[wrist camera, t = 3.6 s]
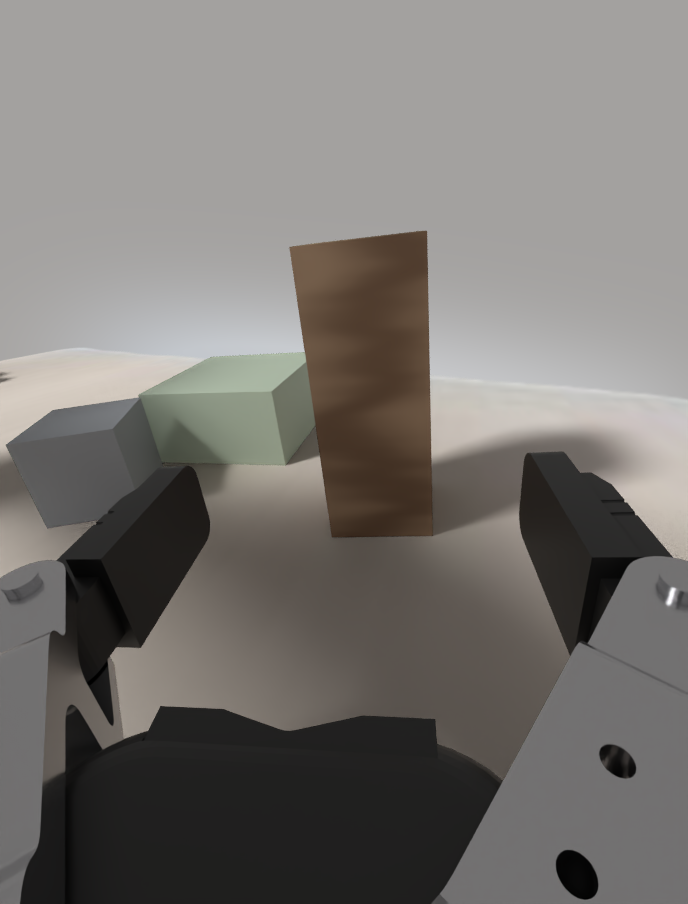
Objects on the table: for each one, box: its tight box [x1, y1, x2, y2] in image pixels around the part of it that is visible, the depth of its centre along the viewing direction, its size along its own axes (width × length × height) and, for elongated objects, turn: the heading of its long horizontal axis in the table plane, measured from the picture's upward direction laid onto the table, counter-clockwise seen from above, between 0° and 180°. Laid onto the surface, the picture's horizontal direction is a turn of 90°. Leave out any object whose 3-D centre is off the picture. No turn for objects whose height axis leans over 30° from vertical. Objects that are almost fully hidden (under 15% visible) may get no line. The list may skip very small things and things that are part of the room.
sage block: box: [138, 352, 315, 465], centre depth 31 cm, size 9×9×5 cm
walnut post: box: [290, 231, 433, 537], centre depth 19 cm, size 4×4×12 cm
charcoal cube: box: [6, 398, 163, 528], centre depth 24 cm, size 5×5×5 cm
